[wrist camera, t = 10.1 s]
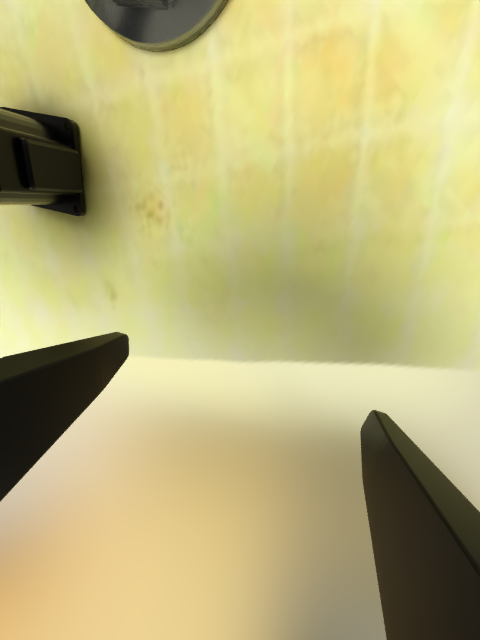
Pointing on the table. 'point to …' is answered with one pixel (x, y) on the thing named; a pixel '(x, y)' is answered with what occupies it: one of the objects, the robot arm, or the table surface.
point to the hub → (157, 20)
